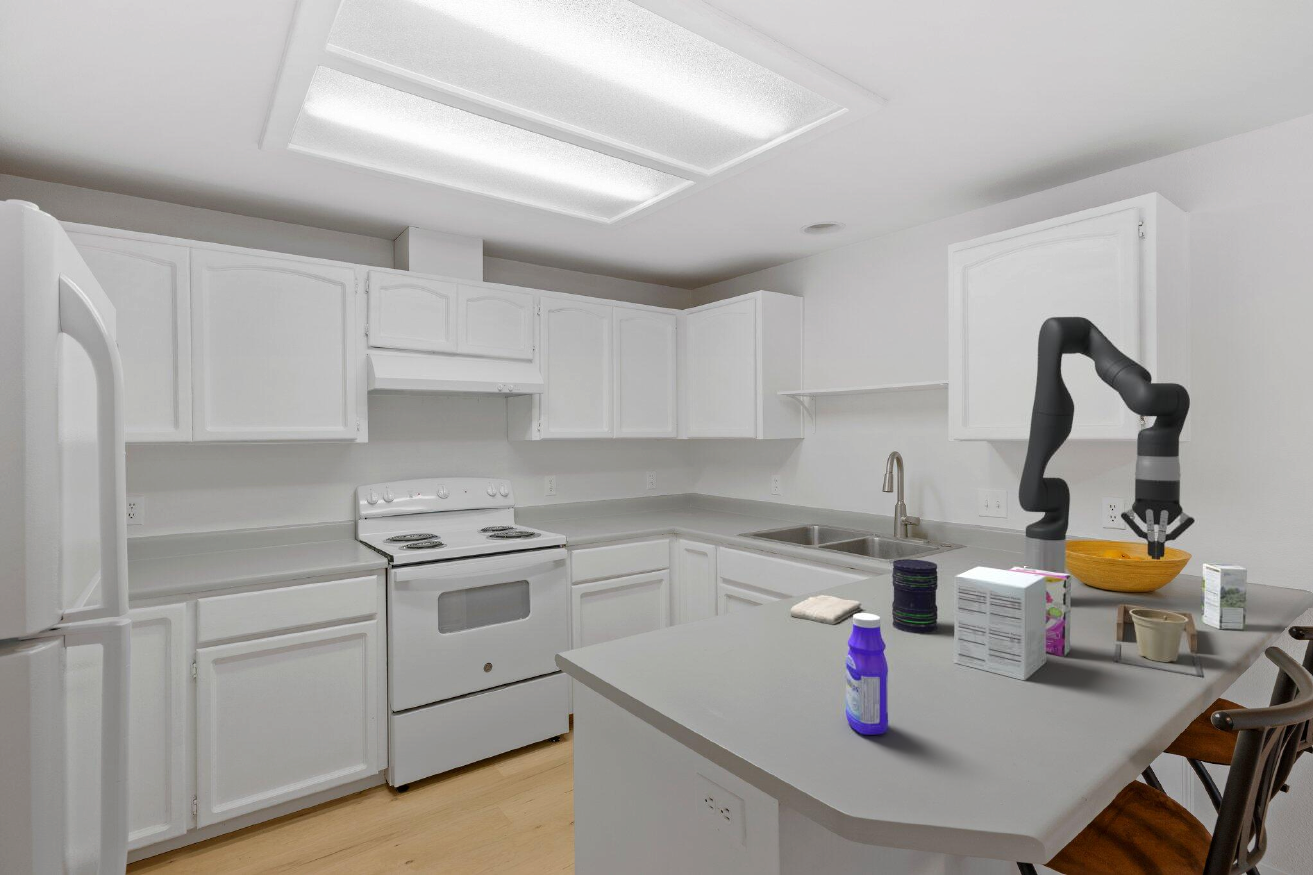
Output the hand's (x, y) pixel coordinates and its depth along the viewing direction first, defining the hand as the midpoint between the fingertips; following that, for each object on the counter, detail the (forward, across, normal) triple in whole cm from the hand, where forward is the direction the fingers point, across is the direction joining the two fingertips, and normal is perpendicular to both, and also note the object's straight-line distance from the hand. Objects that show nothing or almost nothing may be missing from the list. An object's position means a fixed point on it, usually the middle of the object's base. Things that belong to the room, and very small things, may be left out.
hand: (1156, 558), depth 138 cm
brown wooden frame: (+19, 0, +9) cm, 21 cm away
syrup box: (+19, +13, +27) cm, 35 cm away
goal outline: (+19, 0, -9) cm, 21 cm away
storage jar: (+19, -45, -16) cm, 51 cm away
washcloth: (+20, -66, -17) cm, 71 cm away
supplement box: (+19, -25, -30) cm, 44 cm away
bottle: (+19, -37, -73) cm, 84 cm away
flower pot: (+19, 0, -8) cm, 20 cm away
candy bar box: (+19, -20, -16) cm, 32 cm away
